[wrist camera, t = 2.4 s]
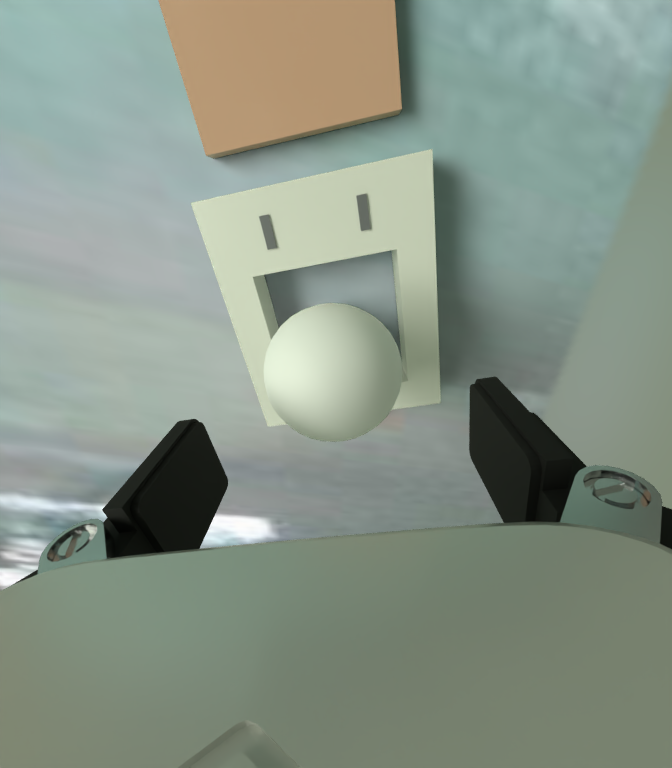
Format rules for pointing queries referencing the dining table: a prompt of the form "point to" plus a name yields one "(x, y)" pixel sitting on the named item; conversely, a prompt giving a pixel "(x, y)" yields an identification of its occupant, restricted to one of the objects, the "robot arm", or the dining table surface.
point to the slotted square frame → (332, 255)
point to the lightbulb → (332, 372)
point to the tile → (283, 67)
